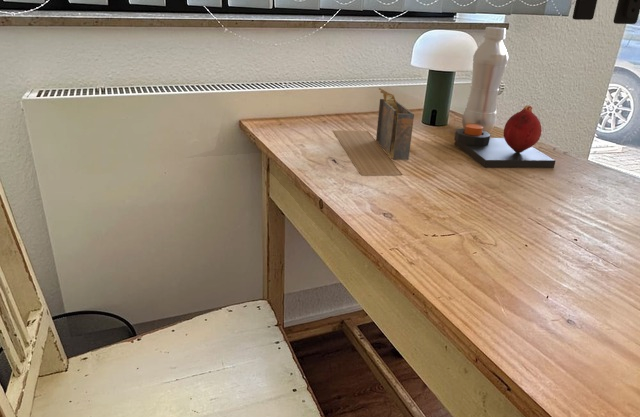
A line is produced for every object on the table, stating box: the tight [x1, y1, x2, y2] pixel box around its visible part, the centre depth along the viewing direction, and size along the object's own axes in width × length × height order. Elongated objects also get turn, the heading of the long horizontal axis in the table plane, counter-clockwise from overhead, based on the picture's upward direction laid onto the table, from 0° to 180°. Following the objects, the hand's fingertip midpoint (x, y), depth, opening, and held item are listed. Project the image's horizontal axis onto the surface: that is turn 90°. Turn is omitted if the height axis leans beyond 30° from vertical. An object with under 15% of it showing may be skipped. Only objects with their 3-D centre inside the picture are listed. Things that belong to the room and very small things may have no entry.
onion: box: [503, 104, 542, 153], centre depth 81 cm, size 6×6×8 cm
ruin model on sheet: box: [332, 87, 415, 176], centre depth 84 cm, size 25×16×10 cm, turn 8°
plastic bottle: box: [461, 26, 509, 134], centre depth 95 cm, size 6×7×20 cm
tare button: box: [464, 124, 483, 136], centre depth 87 cm, size 3×3×2 cm
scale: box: [453, 127, 556, 169], centre depth 85 cm, size 13×14×3 cm
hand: (602, 21), depth 73 cm, fingers open, 9 cm apart
